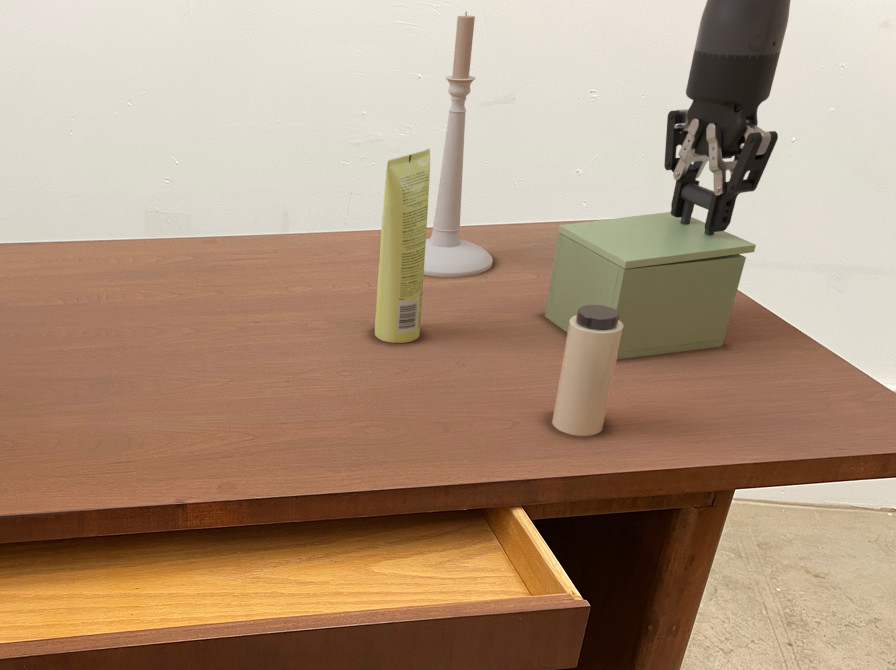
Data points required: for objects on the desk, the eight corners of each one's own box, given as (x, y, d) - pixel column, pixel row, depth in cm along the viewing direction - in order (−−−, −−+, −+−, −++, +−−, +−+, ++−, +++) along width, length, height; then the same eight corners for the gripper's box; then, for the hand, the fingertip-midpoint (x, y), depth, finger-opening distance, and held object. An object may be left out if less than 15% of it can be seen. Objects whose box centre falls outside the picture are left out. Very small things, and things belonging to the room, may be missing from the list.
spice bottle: (585, 412, 86) (607, 300, 81) (611, 434, 83) (636, 318, 77) (542, 418, 86) (561, 305, 80) (567, 440, 82) (589, 323, 76)
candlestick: (501, 277, 118) (535, 16, 102) (401, 278, 118) (419, 17, 103) (481, 246, 129) (509, 6, 113) (389, 247, 129) (404, 7, 113)
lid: (676, 217, 104) (685, 172, 101) (754, 252, 93) (767, 202, 90) (558, 232, 101) (564, 185, 98) (624, 269, 90) (633, 218, 88)
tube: (371, 326, 105) (381, 147, 95) (416, 325, 105) (430, 146, 95) (376, 345, 100) (387, 160, 90) (423, 345, 100) (439, 159, 90)
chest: (650, 305, 109) (669, 222, 104) (721, 347, 98) (746, 257, 93) (544, 317, 106) (558, 232, 101) (605, 362, 96) (624, 269, 91)
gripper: (827, 53, 83) (776, 239, 92) (722, 36, 95) (686, 203, 104) (755, 58, 82) (710, 246, 91) (658, 40, 94) (626, 208, 103)
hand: (697, 222), depth 97 cm, fingers closed on lid, 5 cm apart
